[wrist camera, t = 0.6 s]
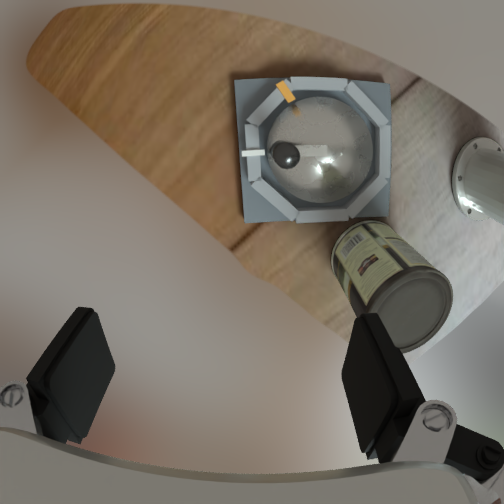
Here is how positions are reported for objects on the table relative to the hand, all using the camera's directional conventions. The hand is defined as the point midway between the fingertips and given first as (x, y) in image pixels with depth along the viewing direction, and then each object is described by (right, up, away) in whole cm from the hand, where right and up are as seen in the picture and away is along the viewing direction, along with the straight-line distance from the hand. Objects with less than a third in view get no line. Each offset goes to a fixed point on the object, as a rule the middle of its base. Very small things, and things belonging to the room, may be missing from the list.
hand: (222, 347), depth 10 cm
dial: (+9, +15, +22) cm, 28 cm away
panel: (+9, +15, +23) cm, 29 cm away
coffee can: (+16, +3, +29) cm, 34 cm away
